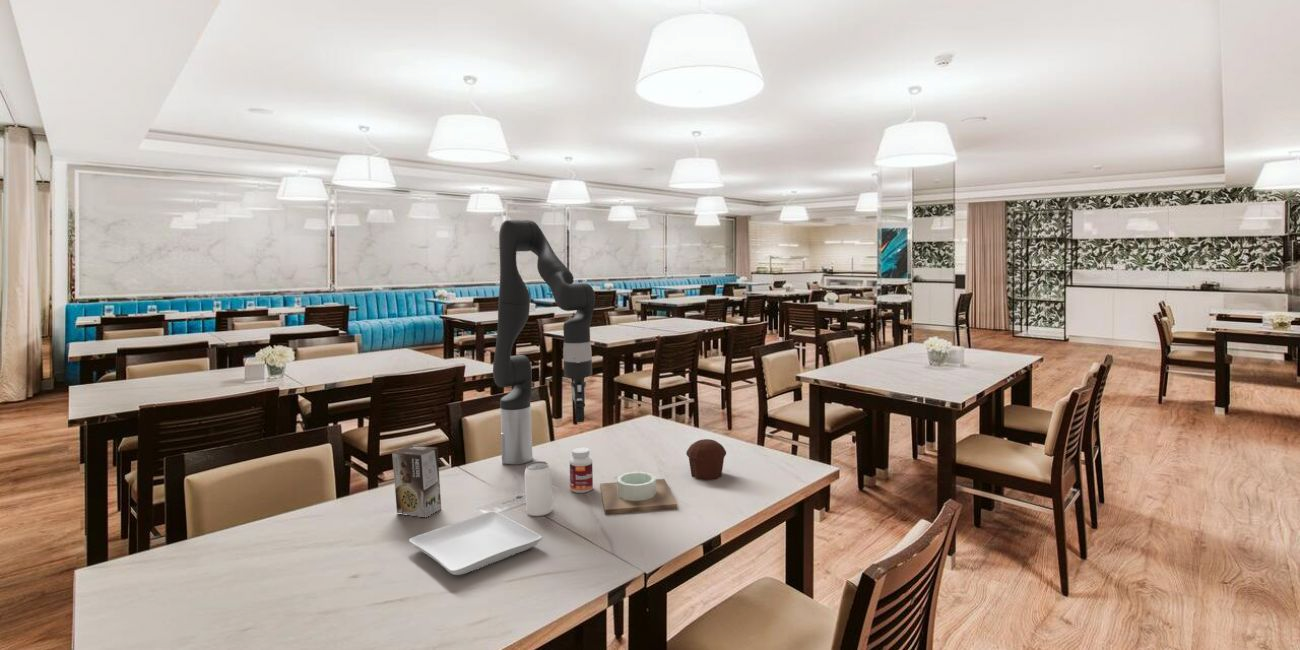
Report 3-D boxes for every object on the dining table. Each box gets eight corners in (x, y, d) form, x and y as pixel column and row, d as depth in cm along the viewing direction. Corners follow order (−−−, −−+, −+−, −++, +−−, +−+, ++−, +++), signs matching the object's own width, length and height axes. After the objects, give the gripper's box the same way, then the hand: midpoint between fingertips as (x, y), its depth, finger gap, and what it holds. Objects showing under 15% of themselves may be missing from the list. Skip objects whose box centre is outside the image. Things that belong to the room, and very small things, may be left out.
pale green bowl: (619, 502, 152) (619, 486, 152) (615, 487, 162) (615, 473, 162) (658, 499, 154) (658, 483, 153) (652, 484, 164) (652, 470, 163)
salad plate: (494, 522, 146) (493, 508, 145) (545, 550, 131) (544, 535, 130) (407, 552, 131) (406, 537, 131) (453, 588, 116) (452, 571, 116)
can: (527, 507, 153) (525, 461, 152) (553, 505, 154) (551, 460, 153) (524, 517, 147) (522, 470, 146) (551, 516, 147) (549, 468, 146)
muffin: (701, 484, 166) (701, 449, 165) (678, 473, 176) (678, 440, 175) (734, 476, 173) (734, 441, 172) (710, 465, 182) (710, 433, 181)
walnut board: (605, 514, 148) (604, 509, 148) (600, 487, 166) (599, 483, 165) (677, 508, 151) (677, 503, 150) (664, 482, 168) (664, 478, 168)
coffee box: (442, 508, 153) (439, 447, 152) (425, 519, 147) (421, 455, 146) (413, 504, 156) (409, 444, 155) (395, 514, 150) (391, 451, 149)
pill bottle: (575, 495, 161) (574, 455, 160) (566, 488, 166) (565, 449, 165) (596, 490, 164) (595, 451, 163) (587, 483, 169) (586, 445, 168)
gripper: (563, 355, 168) (565, 412, 169) (563, 363, 154) (566, 425, 155) (590, 354, 169) (591, 410, 170) (593, 362, 155) (595, 423, 156)
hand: (579, 417), depth 163 cm, fingers open, 8 cm apart
